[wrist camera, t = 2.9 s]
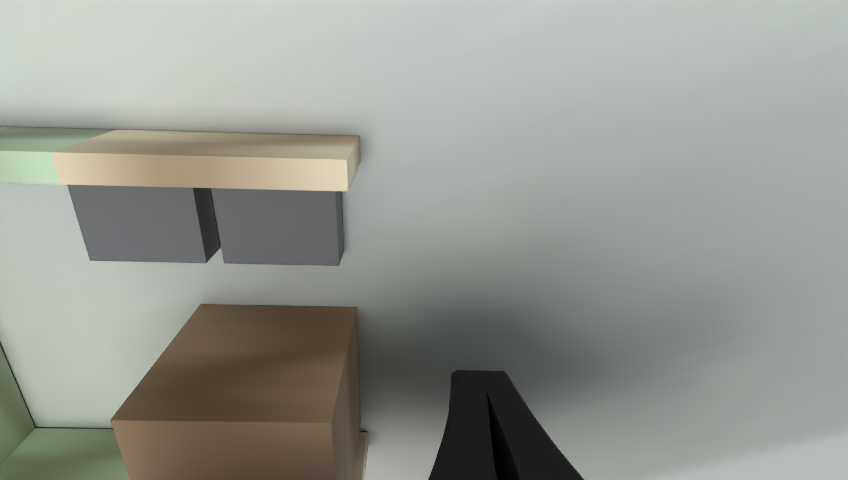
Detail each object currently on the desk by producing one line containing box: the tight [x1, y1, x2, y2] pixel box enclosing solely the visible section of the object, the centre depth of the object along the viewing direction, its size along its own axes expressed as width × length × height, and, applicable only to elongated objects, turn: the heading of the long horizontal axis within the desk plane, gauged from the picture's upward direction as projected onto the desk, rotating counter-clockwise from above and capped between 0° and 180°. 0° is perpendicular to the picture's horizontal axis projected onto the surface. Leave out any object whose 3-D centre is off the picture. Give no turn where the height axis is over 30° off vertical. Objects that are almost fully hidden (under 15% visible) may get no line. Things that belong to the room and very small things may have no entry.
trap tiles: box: [68, 185, 344, 266], centre depth 11 cm, size 6×2×1 cm, turn 88°
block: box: [110, 304, 361, 480], centre depth 11 cm, size 4×4×4 cm
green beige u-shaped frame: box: [0, 126, 368, 480], centre depth 11 cm, size 10×9×2 cm
